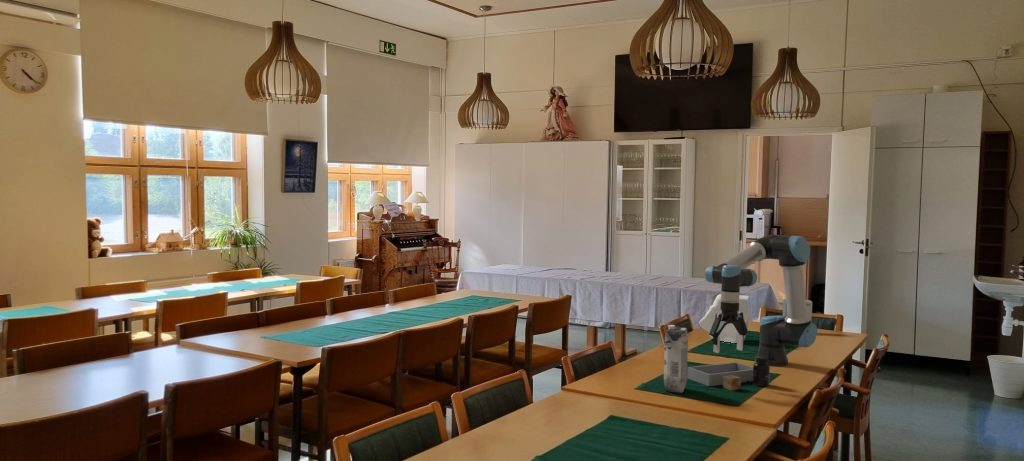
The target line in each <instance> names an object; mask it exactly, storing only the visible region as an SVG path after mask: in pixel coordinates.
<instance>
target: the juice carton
mask: <svg viewBox="0 0 1024 461" xmlns="http://www.w3.org/2000/svg"><path fill="white" fill-rule="evenodd" d="M667 327H668V328H667V329H666V330H665V336H664V348H663V349H664V352H663V353H664V354H663V355H664V356H663V357H664V359H663V363H664V364H663V385H664V391H665V392H671V393H681V394H682V393H683V392H684V391H685V388H686V385H687V381H688V378H687V373H688V355H689V354H688V352H689V351H688V350H689V349H688V348H689V346H688V343H689V337H688V336H689V335H688V329H687V327H680V326H679V327H678V326H676V325H674V324H670V325H668V326H667Z"/></svg>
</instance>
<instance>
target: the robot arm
mask: <svg viewBox="0 0 1024 461" xmlns="http://www.w3.org/2000/svg"><path fill="white" fill-rule="evenodd" d="M810 254H811V247H810V244H809V242H808V240H807V239H806V238H805V237H803V236H801V235H795V234H794V235H791V234H789V235H788V234H781V235H780V234H768V235H765V236H762V237H760V238H756V239H755V240H753V241H752V242H750V243H749V244H748V245H747V247H746V248H745V249H743V250H741V251H739V253H737V254H735V255H733V256H732V257H730V258H728V259H727V260H725V261H723V262H721V263H720V264H718V265H716V266H715V265H710V266H707V268H705V272H704V279H705V281H706V282H708V283H712V284H719V285H721V290H720V294H721V300H722V301H721V310H722V313H721V314H719V313H716V316H715V320H714V323H713V325H712V328H711V330H710V333H709V332H708V335H709V336H710V335H711V336H713V339H712V345H713V348H712V349H713V350H712V351H713V353H716V354H719V353H720V349H721V348H720V345H721V344H720V343H721V342H720V337H718V336H719V335H720V333H721V332H722V330H723V328H724V327H725V325H727V324H730V323H732V324H733V325H734V327H735V328H736V330H737V332H738V333H739V334H740V335H739V334H738V335H737V344H736V350H737V351H741V352H743V350H744V349H743V348H744V343H745V342H744V341H745V339H744V335H746V336H747V334H748V333H749V330H747V327H746V324H745V321H744V318H743V313H742V312H737V311H739V303H738V301H739V297H740V295H741V294H740V291H741V290H740V288H741V287H743V288H744V287H751V286H754V285H755V284H756V283H757V281H758V274H757V272H756V271H755V270H754V269H752V268H748V267H750V266H751V265H753V264H755V263H756V262H762V261H763V260H776V261H777V260H778V265H779V267H781V268H782V272H783V273H782V274H783V281H784V282H783V283H784V291H785V292H784V293H785V299H786V304H787V315H788V316H787V317H786V318H785V316H783V315H768V316H762V317H761V318H760V322H759V345H758V346H759V347H758V349H757V353H756V355H755V358H754V359H755V362H754V363H756V357H758V356H762V357H767V358H768V362H767V364H769V366H770V367H772V366H773V367H783V366H787V365H788V364H789V359H788V355H787V351H786V346H785V345H789V346H794V347H799V348H810V347H811V346H813V344H814V343H815V341H816V339H817V336H818V326H817V325H816V324H814V323H812V320H811V318H810V317H809V316H808V315H807V310H806V300H807V299H806V291H805V290H806V289H805V279H804V277H805V276H804V268H803V267H804V266H805V265H806V263H807V261H808V260H809V258H810ZM737 319H738V320H737ZM723 321H724V322H723ZM746 333H747V334H746Z"/></svg>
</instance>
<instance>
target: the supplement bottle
mask: <svg viewBox="0 0 1024 461" xmlns="http://www.w3.org/2000/svg"><path fill="white" fill-rule="evenodd" d="M755 357H756V356H755ZM767 362H768V358H767V357H762V356H758V357H756V362H754V363H753V366H752V367H753V381H752V385H754V386H757V387H765V388H766V387H768V386H770V376H771V375H770V374H771V372H770V370H771V366H770V365H769V364H767Z"/></svg>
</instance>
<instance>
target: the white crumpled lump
mask: <svg viewBox="0 0 1024 461" xmlns="http://www.w3.org/2000/svg"><path fill="white" fill-rule="evenodd" d="M749 299H750V296H749V295H742V294H740V297H739V301H738V303H739V311H737V312H742V313H743V318H744V321H745V324H746V327H747V330H748V331H750V330H749V321H750V317H751V308H750V302H749ZM721 301H722V300H721V293H719V294H718V295H716V297H715V298H714V300H713V303H712V305H710V306H709V308H708V310H707V311H706V313H705V315H704V316H703V317H702V318H701V319H700V320H699V321H698V324H699V326H700V327H701V328H702V329H703V330H704V331H707V332H708V334H709V333H710V330H711V328H712V325H713V323H714V320H715V316H716V313H719V314H721V313H722V310H721ZM737 320H738V319H737ZM723 322H724V321H723ZM738 334H739V333H738V332H737V330H736V328H735V327H734V325H733V324H732V323H730V324H727V325H725V327H724V328H723V330H722V332H721V333H720V335H719V336H718V337H720V341H724V342H731V343H737V335H738ZM747 334H748V333H746V335H744V340H745V339H746V336H747ZM739 335H740V334H739ZM709 338H711V339H712V340H713V336H711V335H709ZM724 342H723V343H724Z"/></svg>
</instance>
